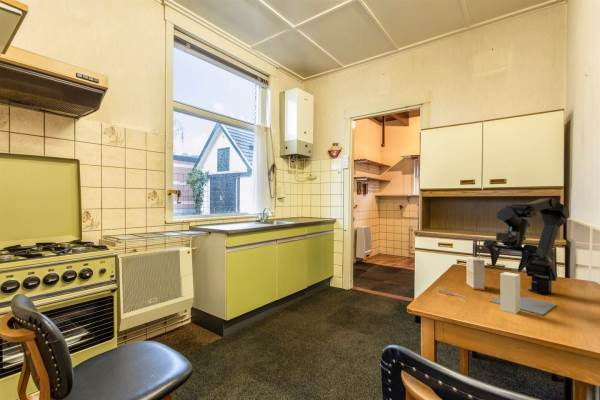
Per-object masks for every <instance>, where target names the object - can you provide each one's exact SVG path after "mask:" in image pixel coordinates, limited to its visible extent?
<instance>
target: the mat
mask: <svg viewBox="0 0 600 400" xmlns="http://www.w3.org/2000/svg"><path fill="white" fill-rule="evenodd" d="M489 301H490V303H493V304H497V305H500V295H499V296H497V297H495V298H493V299H491V300H489ZM556 307H557V303H552V302H547V301H544V300H540V299H534V298H531V297H528V296H527V297H526V296H523V295H520V311H524V312H528V313H531V314H535V315H539V316H544V315H546V314H547V313H548V312H550V311H551V310H552V309H554V308H556Z"/></svg>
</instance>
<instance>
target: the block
mask: <svg viewBox="0 0 600 400" xmlns="http://www.w3.org/2000/svg"><path fill="white" fill-rule="evenodd" d="M499 276H500V277H499V279H500V280H499V282H500V284H499V288H500V291H499V292H500V293H499V296H500V304H499V306H500V307H499V309H500V311H504V312H507V313H510V314H514V315H516V314H517V313H519V312H520V311H521V310H520V296H521V274H520V273H512V272H508V271H504V272H501V273H500V275H499Z"/></svg>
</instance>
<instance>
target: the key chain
mask: <svg viewBox="0 0 600 400" xmlns="http://www.w3.org/2000/svg"><path fill="white" fill-rule="evenodd" d="M439 291H440V290H438V291H437V293H439V296H441V297H447V296H452V297H456V299H457V300H460V301H462V302H463V303H464V302H465V303H466V301H465V300H464V299H463V298H462V297H464V298H466V295H460V294H458V293H454V292H450V291H446V290H442V293H441V291H440V292H439ZM443 292H444V293H443Z"/></svg>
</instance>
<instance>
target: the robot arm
mask: <svg viewBox="0 0 600 400" xmlns="http://www.w3.org/2000/svg"><path fill="white" fill-rule="evenodd" d="M538 212H539V213H540V215H541V219H542V221H543V223H544V225H543V228H542V231H541V235H540V238H539V241H538V244H537V245H535V244H524V245H523V243H524V241H526V240H527V238H526V233H527V229H528V228H530V227H531V223H529V221H528V218H529V219H532V218H534V217H535V216H537V215H538V214H537V213H538ZM569 217H570V211H569V209H568V208H567V207H566V205H564V204H563V203H560V202H559V201H557V200H556V198H553V197H540V198H538V199H536V200H533V201H529V202H526V203H523V202H521V203H516V202H515V203H513V204H512V205H508V204H507V205H505V206H504V208H501V209H500V210H498V212H497V213H496V218H497V219H498V220H499V221H501V222H502V224H504V225H505V226H507V230H504V232H496V235H495V240H494V239H493V240H492V239H485V240H484V241H483V243H482V246H483V247H485V249H487V250H488V252H489V253H490V261H491V266H492V267H495V266H496V265H497V262H498V259H499V257H500V254H501V253H500V251H501V250H506V251H512V252H521V258H520V261H519V264H518V267H517V271H518V272H521V271H523V270H524V269H525V272H526V276H527V277H529V278H530V277H531V280H530V288H528V291H530V292H532V293H535V294H538V295H541V296H548V295H556V292H553V290H552V285H553V283H552V282H554V281H555V282H556V281H557V279H558V273H557V272H556V271H555V269H554V264H553V263H554V262H553V261H552V260H551V255H552V252H553V249H554V245H555V242H556V238H557V235H558V231H559V228H560V227H562V226H563V225H565V224H566V222H567V219H568V218H569ZM525 218H526V219H525ZM499 242H500V243H499Z"/></svg>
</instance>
